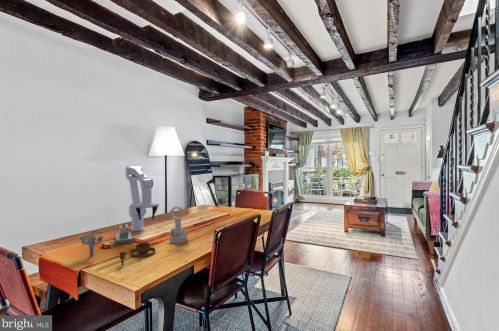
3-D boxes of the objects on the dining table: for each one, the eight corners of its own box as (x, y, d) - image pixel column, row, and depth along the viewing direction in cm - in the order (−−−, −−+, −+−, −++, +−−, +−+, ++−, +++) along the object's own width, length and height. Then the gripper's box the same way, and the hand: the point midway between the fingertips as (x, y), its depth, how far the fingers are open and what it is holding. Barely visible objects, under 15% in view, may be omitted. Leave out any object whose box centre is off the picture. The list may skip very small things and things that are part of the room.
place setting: (162, 256, 129) (162, 244, 129) (120, 267, 115) (120, 255, 115) (147, 247, 141) (147, 236, 141) (107, 256, 127) (107, 245, 127)
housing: (119, 234, 153) (119, 223, 153) (127, 233, 155) (127, 223, 155) (119, 238, 146) (119, 227, 146) (128, 237, 148) (128, 226, 148)
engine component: (183, 243, 147) (189, 238, 157) (184, 208, 147) (189, 205, 157) (165, 242, 148) (172, 237, 158) (166, 207, 148) (172, 204, 158)
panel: (115, 237, 155) (115, 233, 155) (131, 235, 159) (131, 231, 159) (115, 244, 142) (115, 240, 142) (132, 242, 147) (132, 238, 147)
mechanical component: (99, 257, 124) (99, 237, 124) (79, 257, 125) (79, 237, 124) (103, 255, 127) (103, 235, 127) (83, 254, 128) (83, 235, 127)
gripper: (134, 199, 153) (134, 221, 153) (159, 198, 160) (159, 219, 160) (133, 197, 159) (133, 219, 159) (158, 196, 166) (157, 217, 166)
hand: (146, 219), depth 160 cm, fingers open, 7 cm apart
